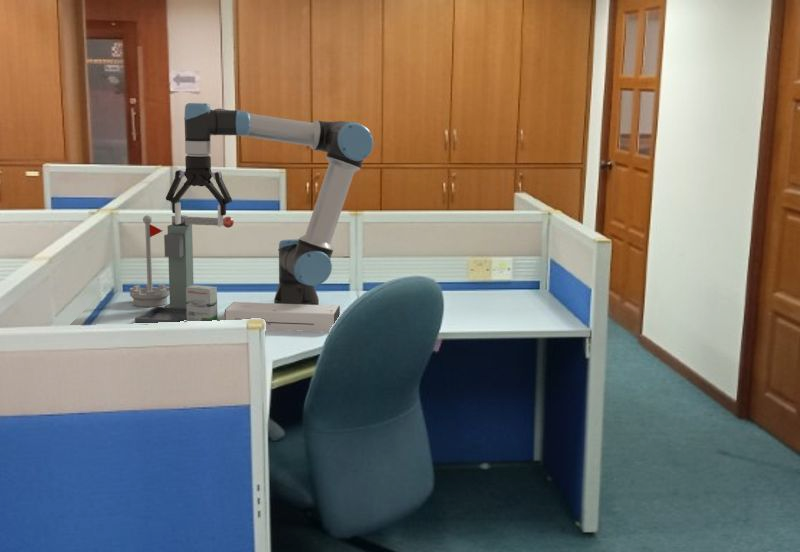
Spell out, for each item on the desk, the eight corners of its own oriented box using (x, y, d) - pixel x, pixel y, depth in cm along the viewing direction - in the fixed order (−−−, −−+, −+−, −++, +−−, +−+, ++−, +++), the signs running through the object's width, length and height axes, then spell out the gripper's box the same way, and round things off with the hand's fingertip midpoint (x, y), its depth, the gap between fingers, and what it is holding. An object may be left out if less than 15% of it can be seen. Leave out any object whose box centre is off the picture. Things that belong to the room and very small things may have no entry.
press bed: (197, 314, 300) (197, 308, 300) (177, 326, 285) (177, 320, 284) (156, 311, 302) (156, 306, 302) (135, 323, 287) (134, 318, 286)
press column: (199, 306, 311) (197, 223, 306) (186, 313, 301) (184, 228, 295) (174, 304, 313) (171, 222, 307) (160, 312, 302) (158, 227, 296)
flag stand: (124, 306, 308) (120, 217, 303) (138, 298, 321) (135, 212, 315) (162, 307, 307) (159, 218, 302) (175, 299, 320) (172, 213, 314)
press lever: (169, 226, 301) (169, 215, 300) (175, 224, 305) (175, 213, 305) (230, 229, 297) (230, 217, 297) (236, 226, 302) (235, 215, 302)
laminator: (225, 329, 284) (224, 309, 283) (234, 319, 296) (234, 300, 295) (334, 333, 282) (334, 313, 281) (340, 323, 294) (340, 304, 293)
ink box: (218, 323, 289) (217, 286, 287) (210, 327, 285) (209, 289, 283) (194, 320, 292) (193, 283, 290) (185, 324, 288) (184, 286, 285)
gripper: (241, 155, 280) (242, 225, 284) (163, 152, 284) (165, 221, 288) (233, 157, 273) (234, 228, 277) (153, 154, 276) (155, 224, 281)
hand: (199, 225), depth 282 cm, fingers open, 13 cm apart
